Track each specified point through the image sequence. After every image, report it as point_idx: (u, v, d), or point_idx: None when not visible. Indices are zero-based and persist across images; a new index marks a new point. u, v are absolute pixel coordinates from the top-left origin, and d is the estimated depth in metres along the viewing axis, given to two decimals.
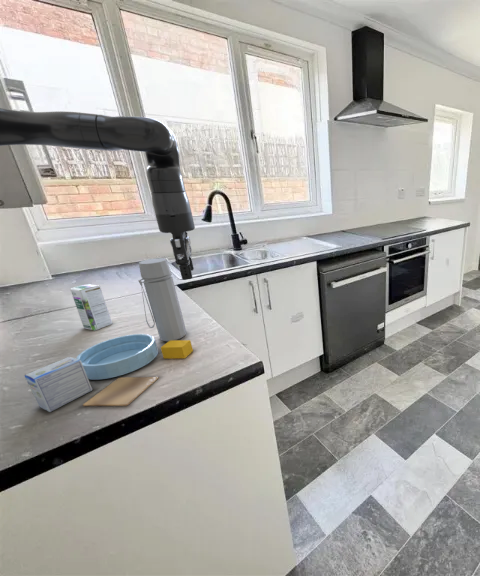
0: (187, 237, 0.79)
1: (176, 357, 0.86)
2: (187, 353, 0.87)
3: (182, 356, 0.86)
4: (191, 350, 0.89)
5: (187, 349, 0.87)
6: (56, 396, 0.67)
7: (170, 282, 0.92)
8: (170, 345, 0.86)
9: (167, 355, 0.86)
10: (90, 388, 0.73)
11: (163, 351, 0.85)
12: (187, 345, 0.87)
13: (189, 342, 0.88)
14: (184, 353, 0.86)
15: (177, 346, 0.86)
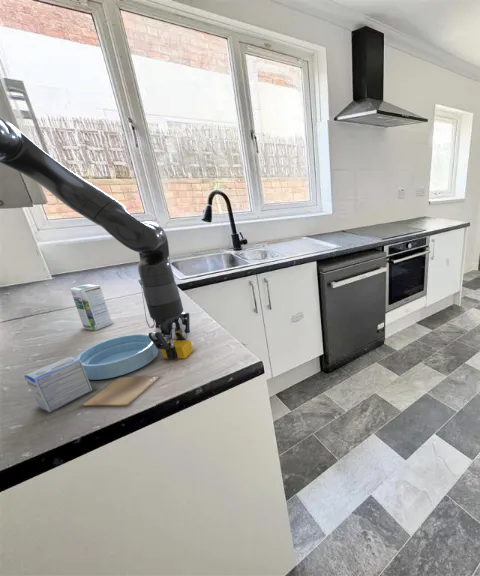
0: (178, 318, 0.86)
1: None
2: (187, 353, 0.87)
3: (182, 356, 0.86)
4: (191, 350, 0.89)
5: (187, 349, 0.87)
6: (56, 396, 0.67)
7: None
8: None
9: None
10: (90, 388, 0.73)
11: (163, 351, 0.85)
12: (187, 345, 0.87)
13: (189, 342, 0.88)
14: (184, 353, 0.86)
15: (177, 346, 0.86)
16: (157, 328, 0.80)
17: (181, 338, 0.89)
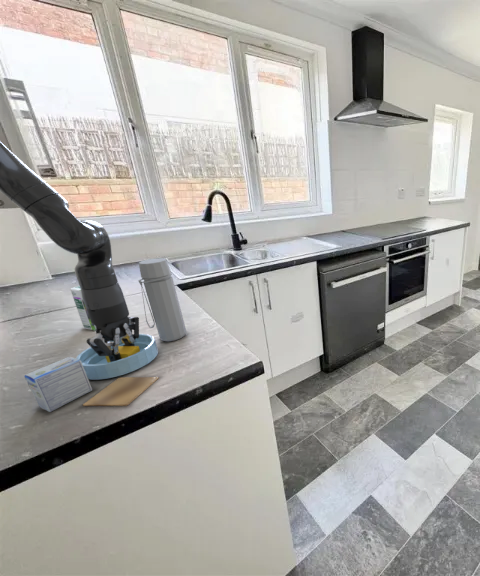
0: (123, 323, 0.81)
1: None
2: None
3: None
4: None
5: None
6: (56, 396, 0.67)
7: (170, 282, 0.92)
8: None
9: None
10: (90, 388, 0.73)
11: (107, 358, 0.80)
12: (134, 351, 0.82)
13: (137, 348, 0.83)
14: None
15: (122, 352, 0.81)
16: (97, 334, 0.75)
17: (128, 344, 0.84)
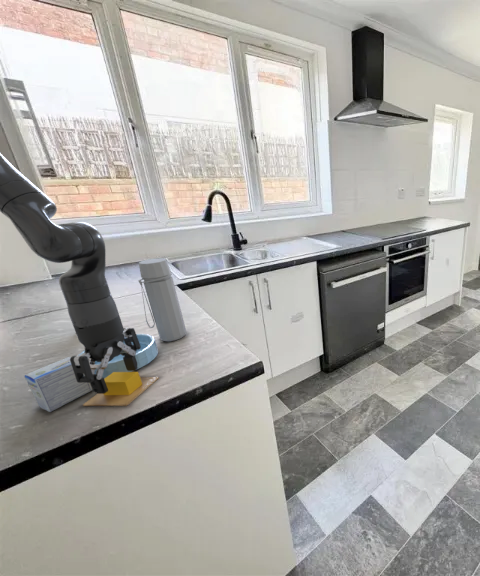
0: (116, 342, 0.70)
1: (119, 393, 0.71)
2: (133, 388, 0.72)
3: (126, 392, 0.71)
4: (139, 384, 0.74)
5: (133, 383, 0.72)
6: (56, 396, 0.67)
7: (170, 282, 0.92)
8: (111, 379, 0.71)
9: (108, 391, 0.71)
10: (90, 388, 0.73)
11: None
12: (133, 378, 0.72)
13: (136, 374, 0.73)
14: (128, 388, 0.71)
15: (120, 380, 0.70)
16: (86, 352, 0.64)
17: (129, 356, 0.74)
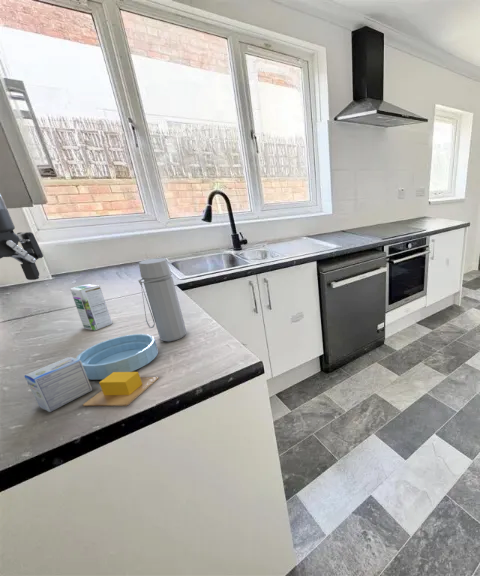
0: (5, 240, 0.64)
1: (119, 393, 0.71)
2: (133, 388, 0.72)
3: (126, 392, 0.71)
4: (139, 384, 0.74)
5: (133, 383, 0.72)
6: (56, 396, 0.67)
7: (170, 282, 0.92)
8: (111, 379, 0.71)
9: (108, 391, 0.71)
10: (90, 388, 0.73)
11: (103, 387, 0.70)
12: (133, 378, 0.72)
13: (136, 374, 0.73)
14: (128, 388, 0.71)
15: (120, 380, 0.70)
16: None
17: (27, 262, 0.69)
